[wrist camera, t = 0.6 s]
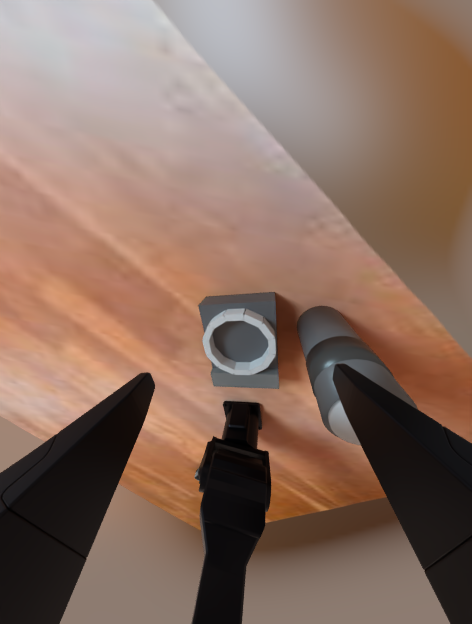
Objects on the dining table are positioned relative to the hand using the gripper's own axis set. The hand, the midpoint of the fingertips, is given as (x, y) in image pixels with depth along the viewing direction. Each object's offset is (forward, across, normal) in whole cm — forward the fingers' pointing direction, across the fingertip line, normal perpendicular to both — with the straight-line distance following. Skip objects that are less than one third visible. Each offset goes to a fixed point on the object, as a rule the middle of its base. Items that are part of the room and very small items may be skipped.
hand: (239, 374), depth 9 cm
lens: (+14, -10, +6) cm, 18 cm away
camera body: (+15, 0, +8) cm, 17 cm away
